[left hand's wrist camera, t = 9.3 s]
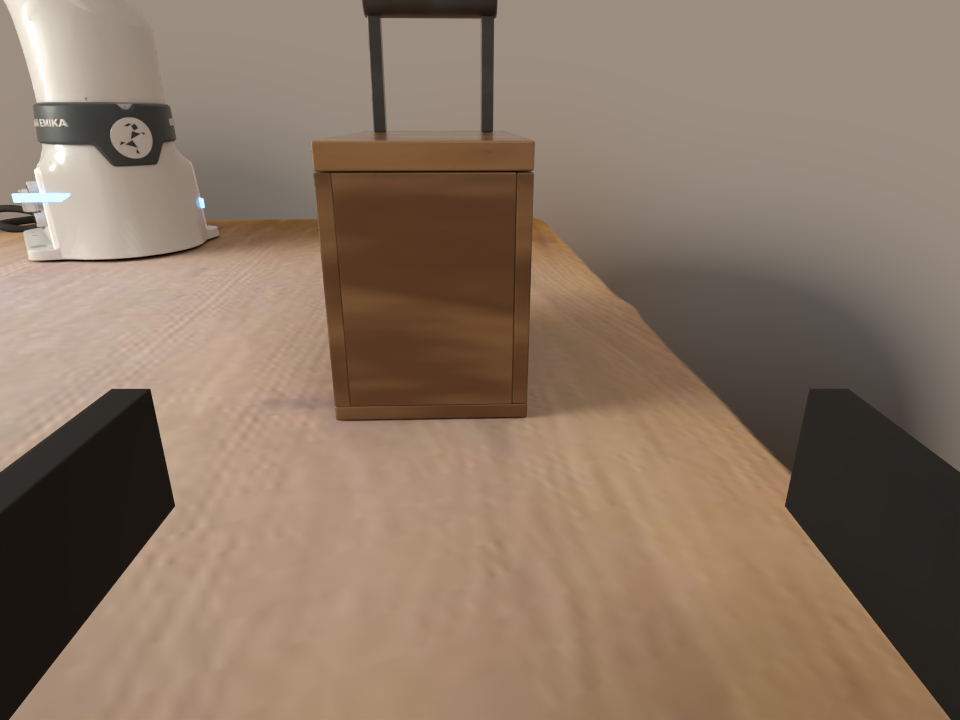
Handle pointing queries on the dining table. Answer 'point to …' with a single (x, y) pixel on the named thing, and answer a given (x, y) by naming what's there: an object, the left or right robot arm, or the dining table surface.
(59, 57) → the right robot arm
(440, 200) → the chest
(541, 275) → the dining table surface
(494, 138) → the lid
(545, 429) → the dining table surface
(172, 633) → the dining table surface
